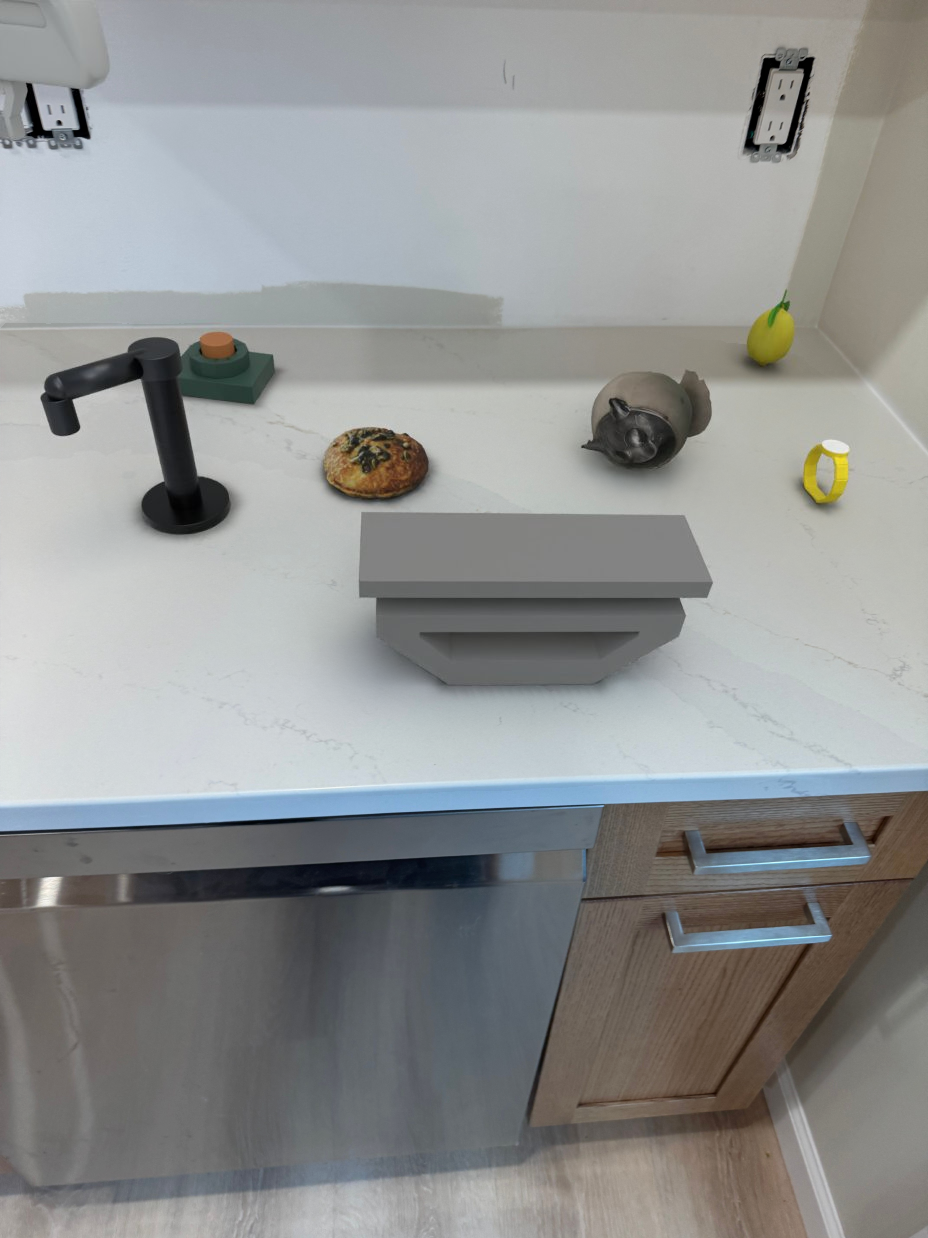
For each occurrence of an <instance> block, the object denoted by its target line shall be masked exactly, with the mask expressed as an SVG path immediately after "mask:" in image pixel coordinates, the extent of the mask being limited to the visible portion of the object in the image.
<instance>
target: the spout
mask: <svg viewBox="0 0 928 1238" xmlns="http://www.w3.org/2000/svg"><path fill="white" fill-rule="evenodd" d="M181 356H182V355H181V349H180V345H179V344H178V342H177V341H175V340H173V339H171V338H168V337H162V336H153V337H144V338H141V339H138V340H136V341H134V342H132V343H130V344H129V346H128V348H127V351H126V352H123V353H119V354H116V355H112V356H109V357H106V358H103V359H99V360H95V361H92V362H89V363H85V364H82V365H78V366H75V367H71V368H68V369H63V370H61V371H57V372H54V373H51V374H49V375H48V376H46V379H45V380H44V383H43V389H44V392H43V393H42V394H41V395H40V397H39V398H40V402H41V406H42V408H43V411H44V414H45V417H46V420H47V423H48V426H49V430H50V432H51V433H52V434H53V435H55V436H56V437H68V436H69V437H70V436H72V435H75V434H77V433H78V432H79V431H80V430H81V423H80V420H79V417H78V414H77V410H76V407H75V403H74V400H76V399H79V398H83V397H86V396H90V395H92V394H96V393H99V392H102V391H105V390H109V389H112V388H115V387H118V386H122V385H125V384H129V383H131V382H135V381H138V380H140V381H141V380H144V381H151V382H158V381H165V380H169V379H172V378H175V377H177V376H178V375H179V374H180V373H181V372H182V370H183V365H182V360H181Z"/></svg>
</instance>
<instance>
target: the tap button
mask: <svg viewBox="0 0 928 1238" xmlns="http://www.w3.org/2000/svg"><path fill="white" fill-rule="evenodd" d="M233 338H234V336H233V335H231V334H230V333H228V332H225V331H210V332H206V333H204V334H203V335H201V336H200V338H199V341H200V344H201V350H202V355H203V356H204V357H206V358H212V359H220V358H227V357H230V356H232V355H234V354H235V350H234V343H233Z"/></svg>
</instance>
